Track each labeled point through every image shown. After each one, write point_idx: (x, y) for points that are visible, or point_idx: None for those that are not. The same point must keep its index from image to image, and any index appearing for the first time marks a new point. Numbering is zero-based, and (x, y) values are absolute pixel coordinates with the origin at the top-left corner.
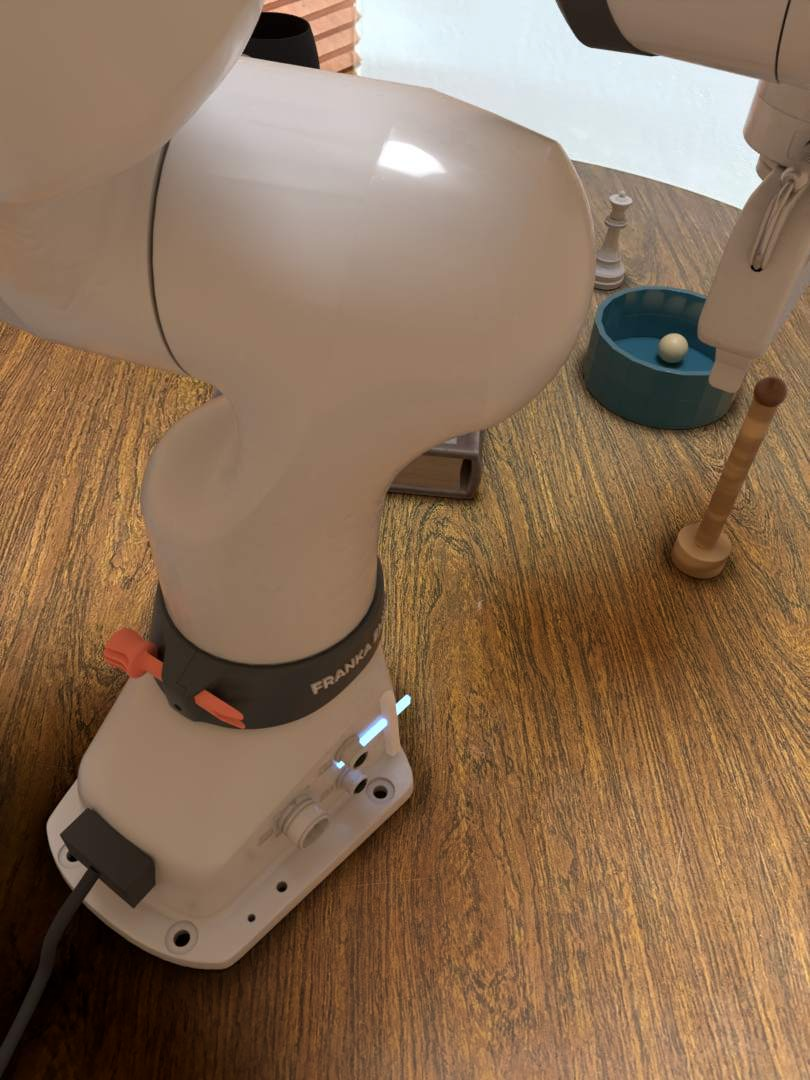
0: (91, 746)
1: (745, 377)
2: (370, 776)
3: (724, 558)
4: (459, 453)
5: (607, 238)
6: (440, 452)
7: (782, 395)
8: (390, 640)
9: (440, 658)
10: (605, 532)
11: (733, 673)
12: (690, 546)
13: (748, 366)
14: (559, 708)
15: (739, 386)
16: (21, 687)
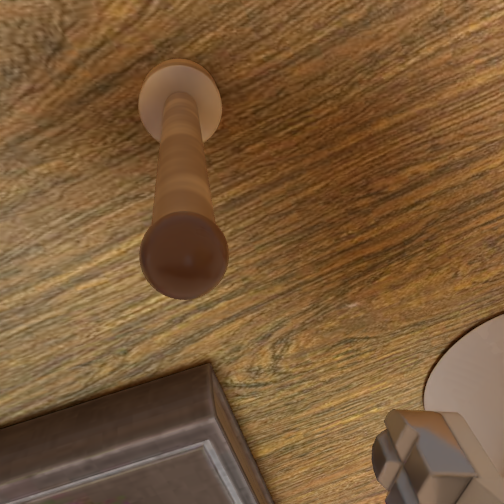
0: None
1: (405, 417)
2: None
3: (203, 72)
4: (222, 430)
5: None
6: (229, 443)
7: (212, 235)
8: (415, 350)
9: (425, 310)
10: None
11: (370, 14)
12: (201, 127)
13: (486, 477)
14: (461, 199)
15: (466, 424)
16: None
